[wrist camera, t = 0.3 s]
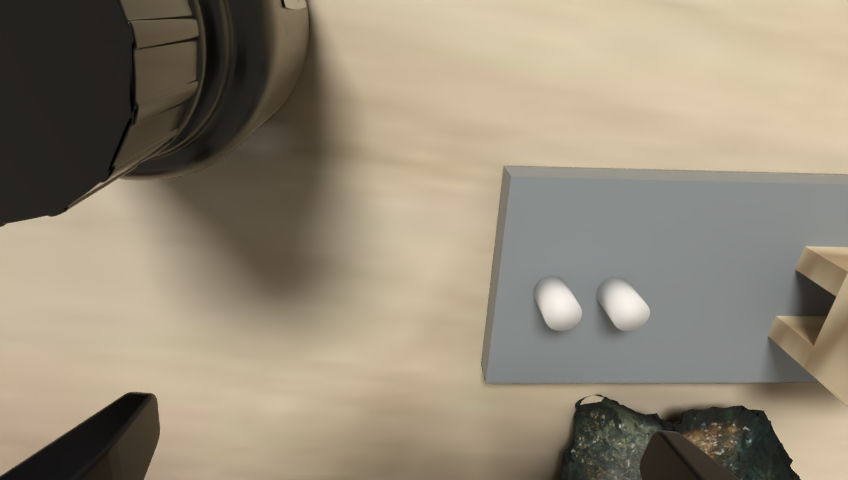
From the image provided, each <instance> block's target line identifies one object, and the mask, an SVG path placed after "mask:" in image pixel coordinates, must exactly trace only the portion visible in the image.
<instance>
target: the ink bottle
mask: <svg viewBox="0 0 848 480" xmlns="http://www.w3.org/2000/svg"><path fill="white" fill-rule="evenodd" d="M308 38H309V17H308V8H307V1H306V0H0V227H1V226H4V225H6V224H8V223H12V222H18V221H23V220H28V219H33V218H38V217H42V216H50V217H53V216H57V215H59V214H62V213H64V212H66V211H67V210H69V209H70V208H72V207H74V206H75V205H77V204H78V203H80V202H82V201H83V200H85V199H86V198H88V197H90V196H91V195H93V194H94V193H96V192H98V191H99V190H101V189H102V188H104V187H106V186H107V185H109V184H110V183H112V182H114V181H115V180H117V179H125V180H161V179H169V178H175V177H179V176H183V175H187V174H190V173H194V172H196V171H199V170H201V169H204V168H206V167H208V166H210V165H212V164H214V163H216V162H217V161H219V160H221V159H222V158H223V157H225V156H226V155H228V154H229V153H230V152H232V151H233V150H234V149H235V148H236V147H238V146H239V145H240V144H241V143H242V142H243V141H244V140H245V139H247V138H248V137H249V136H250V135H251V134H252V133H253V132H254V131H255V130H257V129H258V128H259V127H260V126H261V125H262V124H263V123H264V122H266V121H267V120H268V119H269V118H270V117H271V116H272V115H273V114H274V113H275V112H276V111H277V110H278V109H279V108H280V107H281V106H282V105H283V104H284V103H285V101H286V100H287V99H288V97H289V96H290V94H291V93H292V91H293V89H294V87H295V85H296V83H297V81H298V79H299V77H300V74H301V72H302V69H303V65H304V62H305V58H306V53H307V47H308Z"/></svg>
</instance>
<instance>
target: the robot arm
mask: <svg viewBox="0 0 848 480" xmlns="http://www.w3.org/2000/svg"><path fill="white" fill-rule="evenodd" d="M159 435H160V423H159V413H158V404H157V398H156V396H155V395H154V394H152V393H141V392H129V393H127V394H125V395H123V396H122V397H120V398H119V399H117V400H115V401H114V402H112V403H111V404H109V405H108V406H106V407H105V408H103V409H102V410H100V411H99V412H97V413H96V414H94V415H93V416H91V417H90V418H88V419H87V420H85V421H84V422H82V423H80V424H79V425H77V426H76V427H74V428H73V429H71V430H70V431H68V432H67V433H65V434H64V435H62V436H61V437H59V438H58V439H56V440H55V441H53V442H52V443H50V444H49V445H47V446H45V447H44V448H42V449H41V450H39V451H38V452H36V453H35V454H33V455H32V456H30V457H29V458H27V459H26V460H24V461H23V462H21V463H20V464H18V465H17V466H15V467H14V468H12V469H10V470H9V471H7V472H6V473H4V474H3V475H1V476H0V480H144V477H145V475H146V472H147V470H148V467H149V464H150V462H151V459H152V457H153V454H154V451H155V449H156V446H157V443H158V440H159ZM639 470H640V475H641V479H642V480H740V479H739V478H737V477H736V476H735V475H733V474H732V473H731V472H729V471H728V470H727V469H726V468H724V467H723V466H722V465H720V464H719V463H718V462H716V461H715V460H714V459H713V458H711V457H710V456H709V455H707V454H706V453H705V452H703V451H702V450H701V449H700V448H698V447H697V446H696V445H694V444H693V443H692V442H690V441H689V440H688V439H686V438H685V437H684V436H683V435H681V434H680V433H678V432H675V431H663V430H658V431H655V432H654V433H653V434H652V435H651V437H650V440H649V442H648V444H647V446H646V448H645V450H644V453H643V455H642V457H641V459H640V464H639Z"/></svg>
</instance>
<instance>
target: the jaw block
mask: <svg viewBox="0 0 848 480" xmlns="http://www.w3.org/2000/svg"><path fill="white" fill-rule="evenodd" d="M795 270H797V271H798V272H800V273H802V274H803V275H805V276H806V277H808V278H809V279H811V280H812V281H814V282H815V283H817V284H818V285H820V286H821V287H823V288H824V289H826V290H827V291H829V292H830V293H832V294H833V295H835V296H836V299H835V301H834V303H833V305H832V308H831V310H830V312H829V314H828V316H776V317H775V320H774V322H773V325H772V327H771V329H770V332H769V334H768V337H770V338H771V339H772V340H773V341H774V342H775V343H776V344H777V345H779V346H780V347H781V348H782V349H783V350H784V351H785V352H786V353H788V354H789V355H790V356H791V357H792V358H793V359H794V360H795V361H797V362H798V363H799V364H800V365H801V366H802V367H803V368H804V369H806V370H807V371H808V372H809V373H810V374H811V375H812V376H813V377H815V378H816V379H817V380H818V381H819V382H820V383H821V384H822V385H824V386H825V387H826V388H827V389H828V390H829V391H830V392H831V393H833V394H834V395H835V396H836V397H837V398H838V399H839V400H840V401H842V402H843V403H844V404H845V405H846V406H847V407H848V247H810V246H805V247H804V250H803V252H802V254H801V257H800V259H799V262H798V264H797V267H796V269H795Z"/></svg>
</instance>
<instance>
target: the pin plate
mask: <svg viewBox="0 0 848 480" xmlns="http://www.w3.org/2000/svg"><path fill="white" fill-rule="evenodd" d="M805 246H810V247H848V175H846V174H807V173H768V172H729V171H689V170H650V169H611V168H572V167H532V166H504V169H503V178H502V187H501V195H500V204H499V213H498V222H497V230H496V239H495V248H494V257H493V265H492V274H491V283H490V292H489V300H488V309H487V318H486V326H485V335H484V344H483V353H482V361H481V365H482V370H483V374H484V378H485V382H486V383H762V382H819V381H818V380H817V379H816V378H815V377H813V376H812V375H811V374H810V373H809V372H808V371H807V370H806V369H804V368H803V367H802V366H801V365H800V364H799V363H798V362H797V361H795V360H794V359H793V358H792V357H791V356H790V355H789V354H788V353H786V352H785V351H784V350H783V349H782V348H781V347H780V346H779V345H777V344H776V343H775V342H774V341H773V340H772V339H771V338H770V337H768V334H769V332H770V329H771V327H772V325H773V322H774V320H775V317H776V316H828V314H829V312H830V310H831V308H832V305H833V303H834V301H835V299H836V296H835V295H833V294H832V293H830V292H829V291H827V290H826V289H824V288H823V287H821V286H820V285H818V284H817V283H815V282H814V281H812V280H811V279H809V278H808V277H806V276H805V275H803V274H802V273H800V272H798V271H797V270H795V269H796V267H797V264H798V262H799V259H800V257H801V254H802V252H803V250H804V247H805Z"/></svg>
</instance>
